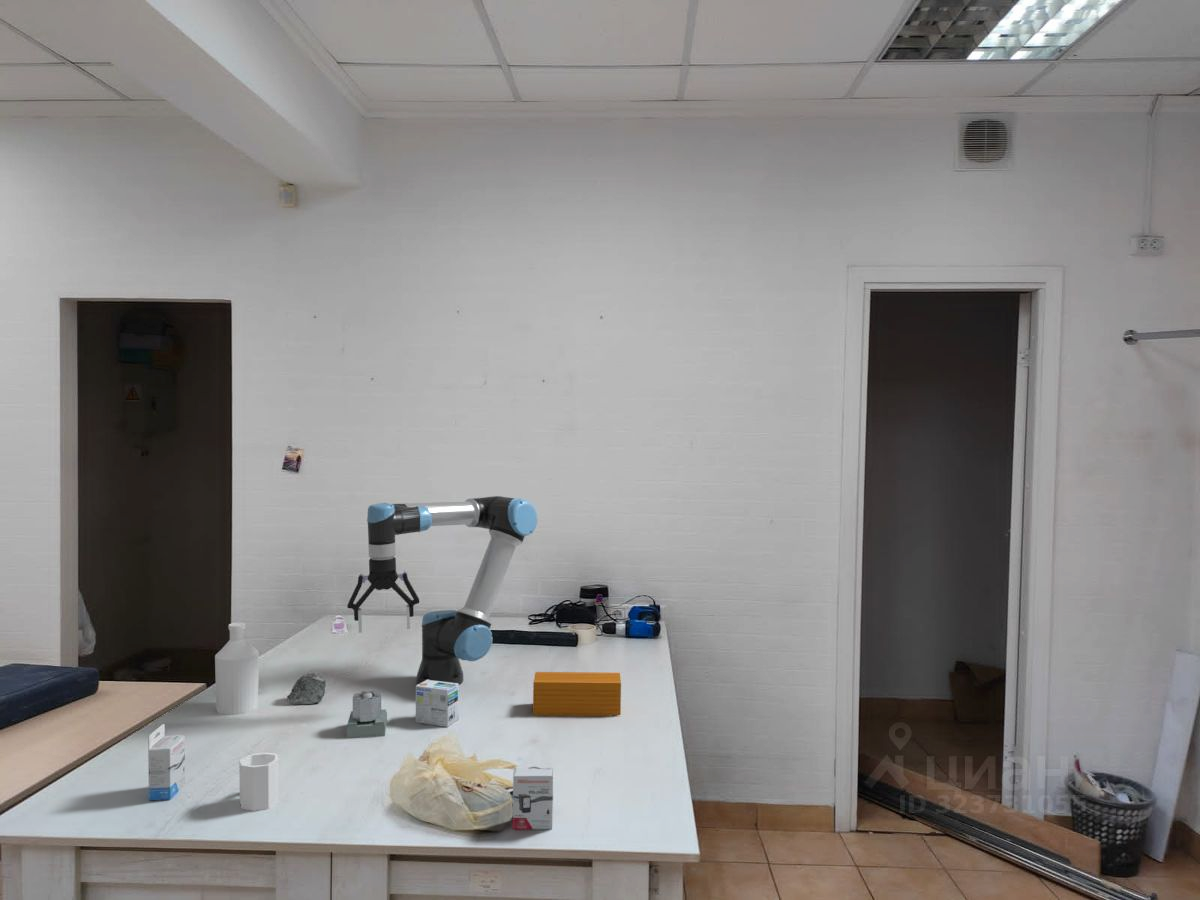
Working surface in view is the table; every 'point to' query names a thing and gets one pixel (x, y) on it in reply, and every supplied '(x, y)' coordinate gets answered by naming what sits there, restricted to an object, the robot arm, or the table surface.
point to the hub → (366, 706)
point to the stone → (308, 689)
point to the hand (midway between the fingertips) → (384, 629)
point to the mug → (259, 781)
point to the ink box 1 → (165, 764)
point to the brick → (577, 693)
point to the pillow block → (367, 725)
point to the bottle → (236, 674)
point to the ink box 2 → (532, 797)
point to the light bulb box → (437, 703)
